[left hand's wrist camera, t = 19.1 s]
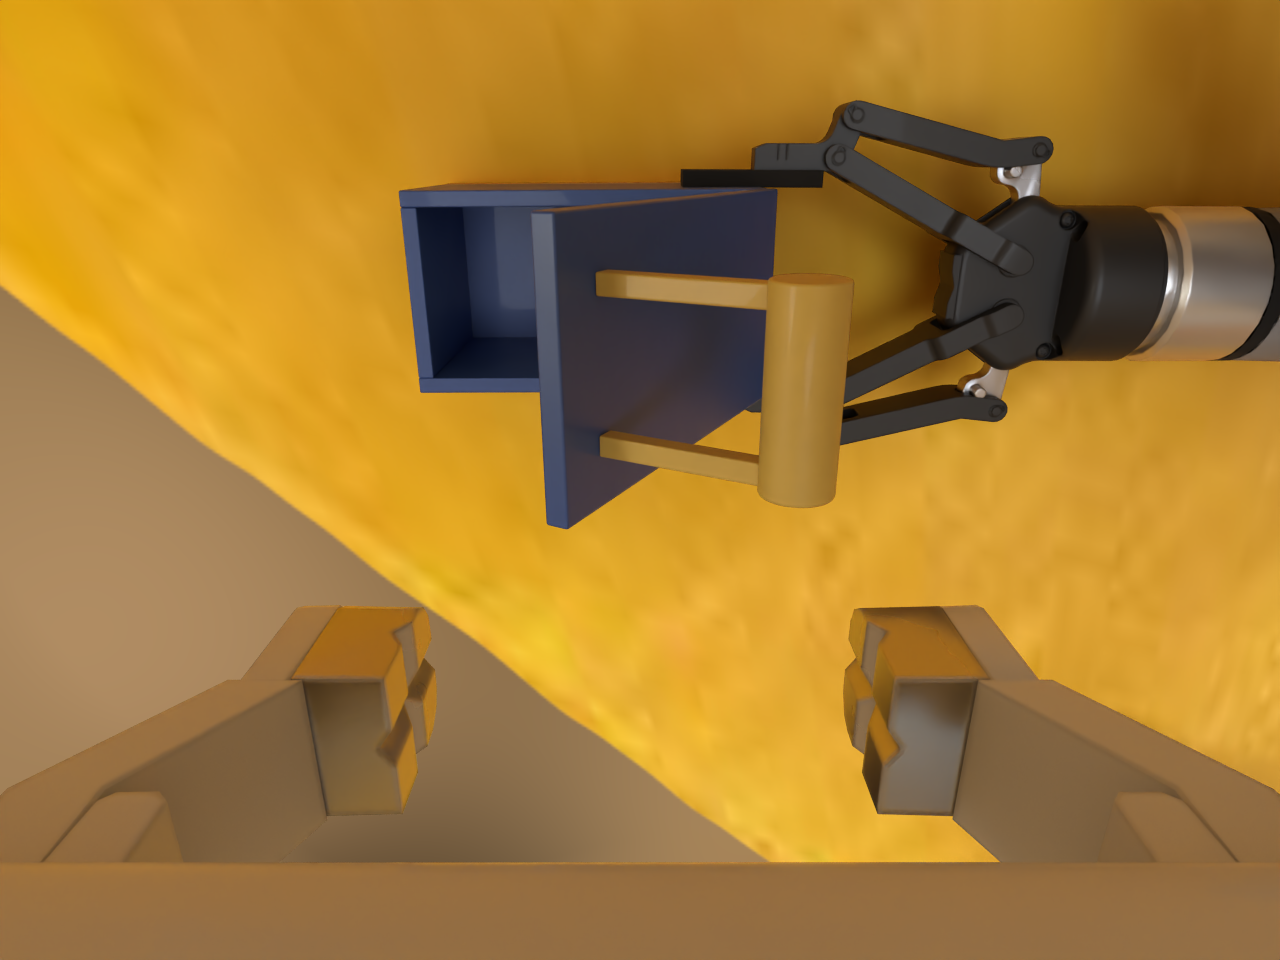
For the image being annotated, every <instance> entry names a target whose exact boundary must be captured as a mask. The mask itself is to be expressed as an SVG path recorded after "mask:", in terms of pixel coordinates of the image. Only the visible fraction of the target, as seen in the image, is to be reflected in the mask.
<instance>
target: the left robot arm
mask: <svg viewBox="0 0 1280 960" xmlns="http://www.w3.org/2000/svg"><path fill="white" fill-rule="evenodd" d="M430 641H431V632H430V625H429V618H428V614H427V613H426V611H425V609H424V608H420V607H369V606H344V607H342V606H340V605H330V606H303V607H299V608H296V610H294V612H293V613H292V614H291V616H290V617H289V618H288V620H287V621H286V622H285V623H284V625H283V626H282V627H281V629H280V630H279V631H278V632H277V634H276V635H275V636H274V638H273V639H272V640H271V641H270V643H269V644H268V645H267V647H266V648H265V649H264V651H263V652H262V653H261V654H260V656H259V657H258V658H257V660H256V661H255V662H254V664H253V665H252V666H251V667H250V669H249V670H248V671H247V673H246V674H245V675H244V677H243V678H242V679H241V680H227V681H225V682H223V683H221V684H219V685H216V686H214V687H212V688H210V689H208V690H206V691H204V692H202V693H200V694H198V695H196V696H194V697H192V698H190V699H188V700H186V701H184V702H182V703H180V704H178V705H176V706H174V707H172V708H170V709H168V710H166V711H164V712H162V713H160V714H158V715H156V716H153V717H151V718H149V719H147V720H145V721H143V722H141V723H139V724H137V725H135V726H133V727H131V728H129V729H127V730H125V731H123V732H121V733H119V734H117V735H115V736H113V737H111V738H109V739H107V740H105V741H103V742H101V743H99V744H97V745H95V746H93V747H90V748H88V749H86V750H84V751H82V752H80V753H78V754H76V755H74V756H72V757H70V758H68V759H66V760H64V761H62V762H60V763H58V764H56V765H54V766H52V767H50V768H48V769H46V770H44V771H42V772H40V773H38V774H36V775H34V776H32V777H30V778H28V779H26V780H23V781H22V782H19V783H17V784H15V785H13V786H11V787H9V788H7V789H6V791H4V792H3V793H2V794H1V795H0V960H1280V795H1279V794H1278V793H1277V792H1276V791H1275V790H1274V789H1272V788H1270V787H1268V786H1266V785H1264V784H1262V783H1260V782H1258V781H1256V780H1254V779H1252V778H1250V777H1248V776H1246V775H1244V774H1242V773H1240V772H1238V771H1236V770H1234V769H1232V768H1230V767H1228V766H1226V765H1224V764H1221V763H1219V762H1217V761H1215V760H1213V759H1211V758H1209V757H1207V756H1205V755H1203V754H1201V753H1199V752H1197V751H1195V750H1193V749H1191V748H1189V747H1187V746H1185V745H1183V744H1181V743H1179V742H1177V741H1175V740H1173V739H1171V738H1169V737H1167V736H1165V735H1163V734H1161V733H1159V732H1157V731H1155V730H1153V729H1151V728H1149V727H1147V726H1145V725H1142V724H1140V723H1138V722H1136V721H1134V720H1132V719H1130V718H1128V717H1126V716H1124V715H1122V714H1120V713H1118V712H1116V711H1114V710H1112V709H1110V708H1108V707H1106V706H1104V705H1102V704H1100V703H1098V702H1096V701H1094V700H1092V699H1090V698H1088V697H1086V696H1084V695H1082V694H1080V693H1078V692H1076V691H1074V690H1072V689H1070V688H1068V687H1066V686H1063V685H1061V684H1059V683H1057V682H1055V681H1053V680H1039V679H1038V678H1037V677H1036V675H1035V674H1034V673H1033V671H1032V670H1031V669H1030V667H1029V666H1028V665H1027V664H1026V662H1025V661H1024V660H1023V658H1022V657H1021V656H1020V655H1019V653H1018V652H1017V651H1016V649H1015V648H1014V647H1013V646H1012V644H1011V643H1010V642H1009V640H1008V639H1007V638H1006V637H1005V635H1004V634H1003V633H1002V631H1001V630H1000V629H999V628H998V626H997V625H996V624H995V622H994V621H993V620H992V619H991V617H990V616H989V615H988V613H987V612H986V611H985V610H984V609H983V608H981V607H979V606H977V605H965V606H941V607H940V606H930V607H889V608H859V609H854V612H853V615H852V618H851V623H850V631H849V641H850V644H851V646H852V649H853V651H854V653H855V656H856V658H855V660H854V661H853V662H852V663H851V664H850V665H849V666H848V667H847V668H846V669H845V677H844V690H843V699H844V716H845V721H846V726H847V731H848V734H849V737H850V740H851V743H852V745H853V747H855V748H856V749H857V750H859V751H860V752H862V753H863V754H864V761H863V769H862V773H863V776H864V779H865V781H866V784H867V787H868V789H869V792H870V795H871V797H872V800H873V803H874V805H875V808H876V811H877V813H878V814H897V815H933V816H953V820H954V821H955V822H956V823H957V824H958V825H960V826H961V827H962V828H963V829H964V830H965V831H966V832H967V833H969V834H970V835H971V836H972V837H973V838H974V839H975V840H976V841H978V842H979V843H980V844H981V845H982V846H983V847H984V848H985V849H987V850H988V851H989V852H990V853H991V854H992V855H993V856H994V857H996V858H997V859H998V860H999V861H1000V862H645V863H644V862H637V863H636V862H627V863H626V862H624V863H623V862H616V863H615V862H603V863H602V862H599V863H598V862H587V863H586V862H580V863H579V862H569V863H568V862H552V863H551V862H550V863H548V862H544V863H542V862H538V863H537V862H531V863H530V862H525V863H523V862H516V863H515V862H514V863H513V862H509V863H508V862H505V863H504V862H493V863H492V862H480V863H479V862H280V861H281V860H283V859H284V858H285V857H286V856H287V855H288V854H289V853H290V852H292V851H293V850H294V849H295V848H296V847H297V846H298V845H299V844H301V843H302V842H303V841H304V840H305V839H306V838H307V837H308V836H310V835H311V834H312V833H313V832H314V831H315V830H316V829H317V828H319V827H320V826H321V825H322V824H323V823H324V822H325V821H327V816H346V815H381V814H403V811H404V808H405V806H406V803H407V800H408V797H409V795H410V792H411V789H412V787H413V784H414V781H415V779H416V776H417V773H418V769H417V761H416V754H417V753H418V752H420V751H421V750H422V749H424V748H425V747H427V745H428V742H429V739H430V736H431V733H432V731H433V726H434V719H435V713H436V702H437V701H436V700H437V686H436V676H435V669H434V668H433V667H432V666H431V665H430V664H429V663H428V662H427V661H426V660H425V658H424V656H425V653H426V651H427V648H428V646H429V644H430Z"/></svg>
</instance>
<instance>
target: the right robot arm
mask: <svg viewBox="0 0 1280 960" xmlns="http://www.w3.org/2000/svg"><path fill="white" fill-rule="evenodd" d="M859 136H862V137H866V138H870V139H873V140H877V141H881V142H884V143H888V144H891V145H895V146H899V147H902V148H906V149H910V150H913V151H917V152H920V153H924V154H928V155H931V156H935V157H939V158H942V159H946V160H950V161H953V162H957V163H960V164H964V165H969V166H974V167H990V177H991V179H992V181H993V182H995V183H997V184H1002V185H1005V186H1007V187H1008V189H1009V190H1010V193H1011V198H1009V199H1008V200H1006V201H1005V202H1003V203H1002V204H1000V205H999V206H997V207H996V208H994V209H993V210H991V211H990V212H988V213H987V214H985V215H984V216H982V217H981V218H979V219H978V220H977V221H975V220H974V219H972V218H970V217H969V216H967V215H965V214H963V213H961V212H958V211H956V210H954V209H953V208H951V207H949V206H948V205H946V204H944V203H942V202H941V201H939V200H937V199H936V198H934V197H932V196H931V195H929V194H927V193H926V192H924V191H922V190H921V189H919V188H917V187H916V186H914V185H912V184H910V183H909V182H907V181H905V180H904V179H902V178H900V177H899V176H897V175H895V174H894V173H892V172H890V171H889V170H887V169H885V168H884V167H882V166H880V165H878V164H877V163H875V162H873V161H872V160H870V159H868V158H867V157H865V156H863V155H862V154H860V153H858V152H857V151H855V150H854V148H855V145H856V143H857V141H858V138H859ZM1052 153H1053V143H1052V141H1051V140H1050V139H1049V138H1047V137H1043V136H1037V137H1020V138H1010V139H1001V140H1000V139H997V138H993V137H990V136H986V135H982V134H979V133H975V132H972V131H968V130H965V129H961V128H957V127H954V126H950V125H947V124H943V123H939V122H936V121H932V120H929V119H925V118H922V117H918V116H914V115H911V114H907V113H904V112H900V111H896V110H893V109H889V108H886V107H882V106H878V105H875V104H871V103H868V102H864V101H857V100H856V101H853V102H849V103H845V104H843V105H840V106H839V107H838V108H836V110H835V112H834V113H833V120H832V123H831V125H830V128H829V130H828V132H827V134H826V136H825V137H824V138H823V139H822V140H821V141H820V142H817V143H765V144H761V145H759V146H756V147H754V148H752V157H751V169H681V186H682V187H790V188H822V186H823V174H824V171H825V172H827V173H829V174H830V175H832V176H834V177H835V178H837V179H839V180H841V181H842V182H844V183H846V184H847V185H849V186H851V187H853V188H854V189H856V190H858V191H859V192H861V193H863V194H865V195H866V196H868V197H870V198H871V199H873V200H875V201H877V202H878V203H880V204H882V205H883V206H885V207H887V208H888V209H890V210H892V211H894V212H895V213H897V214H899V215H900V216H902V217H904V218H906V219H907V220H909V221H911V222H912V223H914V224H916V225H918V226H919V227H921V228H923V229H924V230H926V231H927V232H928V233H930V234H931V235H933V236H935V237H936V238H938V239H940V240H942V241H943V242H945V243H947V246H946V248H945V250H944V251H940V258H939V274H940V284H939V287H938V289H937V292H936V294H935V297H934V304H933V311H932V312H933V313H935V314H936V316H934V317H932V318H930V319H928V320H926V321H924V322H921V323H920V324H918V325H916V326H915V327H914V329H913V330H911V331H910V332H907V333H905V334H903V335H901V336H899V337H897V338H895V339H893V340H891V341H889V342H887V343H885V344H883V345H881V346H879V347H877V348H874V349H872V350H870V351H868V352H866V353H864V354H862V355H860V356H858V357H856V358H854V359H852V360H850V361H848V362H847V370H846V381H845V392H844V403H843V404H845V403H847V402H849V401H851V400H853V399H855V398H858V397H860V396H862V395H864V394H866V393H868V392H870V391H872V390H874V389H876V388H879V387H881V386H883V385H885V384H887V383H889V382H891V381H893V380H895V379H898V378H900V377H902V376H904V375H906V374H908V373H910V372H912V371H914V370H916V369H919V368H921V367H923V366H925V365H927V364H929V363H931V362H933V361H937V360H944V359H947V358H950V357H952V356H954V355H956V354H958V353H960V352H963V351H965V350H967V349H968V350H969V351H970V352H972V353H973V354H974V355H975V356H977V357H978V358H979V359H980V360H982V361H983V362H984V365H983V367H982V368H981V370H980V371H978V372H977V373H975V374H969V375H966V376H964V377H962V378H961V379H960V380H959V382H958V385H940V386H934V387H930V388H925V389H921V390H917V391H912V392H908V393H903V394H899V395H895V396H890V397H886V398H881V399H877V400H873V401H868V402H864V403H859V404H855V405H851V406H846V407H843V415H842V426H841V437H840V445H844V444H849V443H853V442H858V441H862V440H866V439H871V438H875V437H880V436H884V435H889V434H893V433H898V432H902V431H907V430H911V429H916V428H920V427H925V426H929V425H934V424H938V423H943V422H947V421H952V420H956V419H970V420H980V421H989V422H997V421H999V420H1002V419H1003V418H1004V417H1005V415H1006V413H1007V405H1006V403H1005V402H1004V401H1002V400H1001V397H1002V393H1003V390H1004V386H1005V383H1006V379H1007V376H1008V372H1009V370H1011V369H1014V368H1016V367H1018V366H1020V365H1022V364H1024V363H1027V362H1031V361H1038V360H1043V361H1113V360H1118V359H1121V358H1125V359H1128V360H1130V361H1211V360H1248V361H1280V208H1253V207H1241V206H1154V207H1149V208H1147V209H1142V208H1140V207H1137V206H1057V205H1054V204H1052V203H1050V202H1048V201H1047V200H1045V199H1044V198H1042V197H1040V196H1039V195H1040V181H1041V167H1042V163H1045V162H1046V161H1047V160H1048V159H1049V158H1050V157H1051V155H1052ZM761 407H762V398H761V399H760V400H758V401H757V402H755V403H754V404H752V405H751V406H749V407H748V408H746V409H745V410H747V411H750V412H761Z"/></svg>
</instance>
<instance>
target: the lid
mask: <svg viewBox="0 0 1280 960" xmlns="http://www.w3.org/2000/svg"><path fill="white" fill-rule="evenodd" d="M776 209H777V189H753V190H743V191H732V192H722V193H711V194H701V195H691V196H680V197H670V198H659V199H649V200H638V201H628V202H617V203H607V204H596V205H586V206H575V207H565V208H554V209H544V210H534V211H532V212H531V214H530V216H531V235H532V254H533V273H534V291H535V310H536V329H537V348H538V367H539V386H540V404H541V423H542V442H543V461H544V480H545V498H546V517H547V524H548V525H551V526H555V527H559V528H563V529H569V528H570V527H572V526H573V525H575V524H576V523H578V522H579V521H581V520H582V519H584V518H585V517H587V516H588V515H590V514H591V513H593V512H594V511H596V510H597V509H599V508H600V507H601V506H603V505H604V504H606V503H607V502H609V501H610V500H612V499H613V498H615V497H616V496H618V495H619V494H621V493H622V492H624V491H625V490H627V489H628V488H630V487H631V486H633V485H634V484H635V483H637V482H638V481H640V480H641V479H643V478H644V477H646V476H647V475H649V474H650V473H652V472H653V471H655V470H656V469H658V468H664V469H670V470H675V471H680V472H686V473H691V474H696V475H702V476H707V477H713V478H718V479H723V480H729V481H734V482H739V483H745V484H750V485H755V486H757V490H758V493H759V495H760V496H761V497H762V498H763V499H764V500H766V501H768V502H770V503H773V504H776V505H780V506H785V507H792V508H812V507H818V506H822V505H825V504H828V503H829V502H831V501H832V500H833V499H834V497H835V493H836V482H837V470H838V459H839V448H840V437H841V426H842V415H843V403H844V392H845V381H846V370H847V359H848V347H849V336H850V325H851V314H852V303H853V292H854V281H853V280H852V279H850V278H848V277H844V276H839V275H831V274H815V273H796V274H782V275H776V276H773V265H774V246H775V227H776ZM761 398H762V407H761V427H760V446H759V455H753V454H747V453H741V452H735V451H729V450H723V449H717V448H711V447H706V446H700V445H694V444H695V443H696V442H698V441H699V440H701V439H702V438H703V437H705V436H706V435H708V434H709V433H711V432H712V431H714V430H715V429H717V428H718V427H720V426H721V425H723V424H724V423H726V422H727V421H729V420H730V419H732V418H733V417H735V416H736V415H737V414H739V413H740V412H742V411H743V410H745V409H746V408H748V407H749V406H751V405H752V404H754V403H755V402H757V401H758V400H760V399H761Z"/></svg>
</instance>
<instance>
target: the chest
mask: <svg viewBox="0 0 1280 960" xmlns="http://www.w3.org/2000/svg"><path fill="white" fill-rule="evenodd" d="M753 189H767V188H763V187H682V186H681V182H601V183H450V184H445V185H438V186H430V187H423V188H416V189H408V190H401V191H399V198H400V206H401V207H402V208H401V217H402V226H403V235H404V244H405V254H406V263H407V272H408V281H409V290H410V299H411V309H412V318H413V327H414V336H415V345H416V355H417V364H418V373H419V383H420V392H421V393H459V392H540V386H539V367H538V348H537V329H536V310H535V291H534V273H533V254H532V235H531V216H530V214H531V212H532V211H534V210H544V209H554V208H565V207H575V206H586V205H596V204H607V203H617V202H628V201H638V200H649V199H659V198H670V197H680V196H691V195H701V194H711V193H722V192H732V191H743V190H753Z"/></svg>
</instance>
